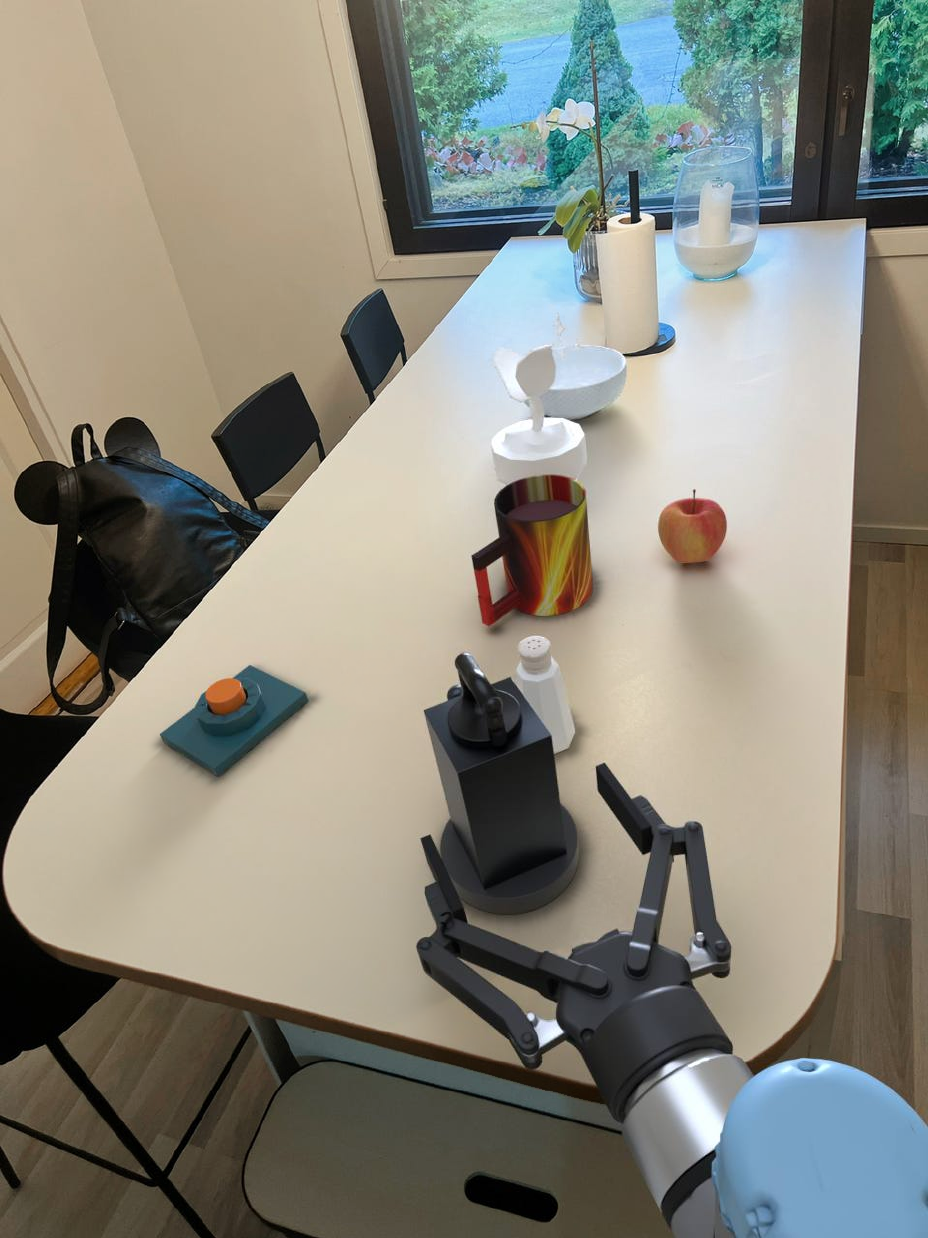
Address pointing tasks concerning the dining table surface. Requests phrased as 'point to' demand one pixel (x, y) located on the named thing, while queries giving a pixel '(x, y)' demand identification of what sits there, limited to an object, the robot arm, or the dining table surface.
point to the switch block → (234, 722)
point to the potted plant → (535, 420)
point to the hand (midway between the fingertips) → (516, 811)
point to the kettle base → (518, 890)
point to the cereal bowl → (584, 381)
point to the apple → (692, 529)
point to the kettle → (497, 775)
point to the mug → (538, 549)
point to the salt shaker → (545, 689)
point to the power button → (225, 696)
